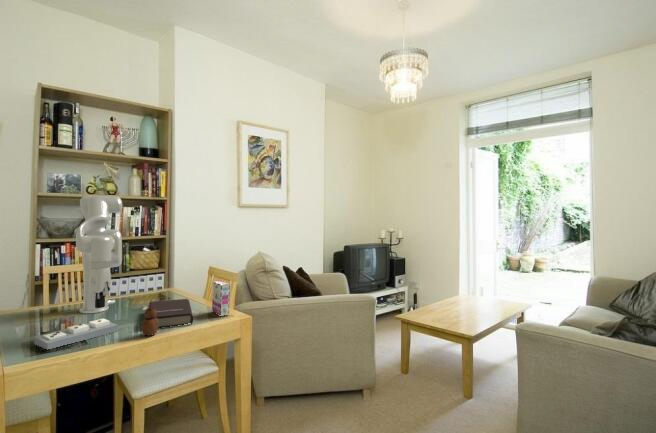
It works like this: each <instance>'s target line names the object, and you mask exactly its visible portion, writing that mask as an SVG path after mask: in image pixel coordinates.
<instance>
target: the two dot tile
mask: <svg viewBox="0 0 656 433" xmlns="http://www.w3.org/2000/svg"><path fill="white" fill-rule="evenodd" d="M86 324H87V323H78V324H75V325H71V326H70V325H69V326H67V328H68V330H67V332H69V333H71V334H76V333H80V332H84V331H88V330H89V326H88V325H86Z"/></svg>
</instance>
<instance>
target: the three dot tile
mask: <svg viewBox="0 0 656 433" xmlns="http://www.w3.org/2000/svg"><path fill="white" fill-rule="evenodd" d="M58 331H59V330H58ZM54 332H55V331H54ZM50 333H51V332H50ZM46 334H47V333H46ZM42 335H43V334H42ZM66 335H67V334H65V333H63V332H61V331H59V332H55V333H51V334H47V335H43V338H44V339H46V340H48V341H49V340H53V339H57V338H61V337H64V336H66Z"/></svg>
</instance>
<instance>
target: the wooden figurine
mask: <svg viewBox="0 0 656 433" xmlns="http://www.w3.org/2000/svg"><path fill="white" fill-rule="evenodd" d="M149 302H150V309H148V308H147V309H146V310H144V319H143V321H142V323H141V331H142V334H143V336H145V335H152V334H155V333H156V334H157V332H158V330H159V329H158V326H159V321H158V318H156V317H155V316H156V315H157V311H156V309H154V308H152V303H151V302H152V301H149ZM156 334H155V335H156Z"/></svg>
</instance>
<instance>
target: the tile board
mask: <svg viewBox="0 0 656 433" xmlns="http://www.w3.org/2000/svg"><path fill="white" fill-rule="evenodd" d="M85 324H86V325H88V326H89V322H88V323H85ZM67 330H68V327H67V328H64V329H59V330H56V331H52V332H47V333H44V334H40V335H39V334H38V335H35V336H33V344H34V346H36V345H37V347H38V346H39V348H40V347H42V348H44V349H47V350H48V349H52V348H56V347H60V346H63V345H67V344H71V343H75V342H79V341H83V340H86V341H88V340H87V339H90V338H93V339H95V338H94V337H97V338H99V337H98V336H100V337H102V336H101V335H104V336H106V335H105V334H107V335H110V334H109V333H111V334H113V333H112V332H115V333H117V332H116V331H119V325H118V324H116V323H114V322H111V321H110V325H107V326H103V327H99V328H93V327H90V326H89V330H88V331H84V332H80V333H76V334H71V333H69V332H67ZM59 331H61V332H63V333H65V334H67V335H66V336H64V337H61V338H57V339H53V340H49V341H48V340H46V339H44V338H43V335H47V334H51V333H55V332H59ZM90 340H91V339H90ZM83 342H84V341H83ZM79 343H80V342H79ZM75 344H76V343H75ZM42 348H41V349H42ZM44 349H43V350H44Z"/></svg>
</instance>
